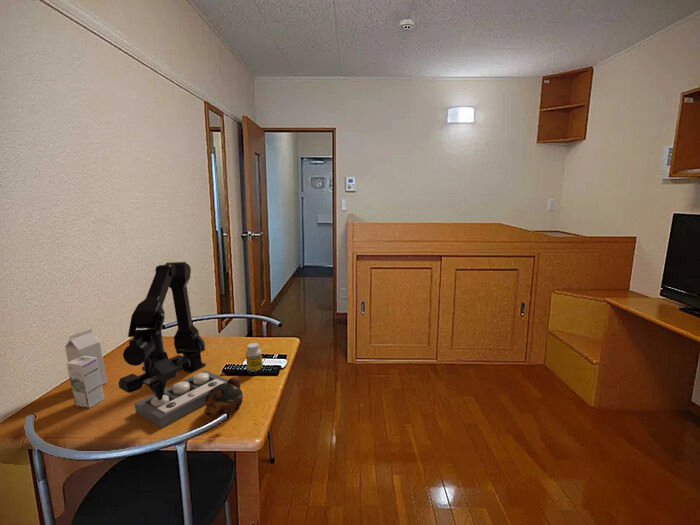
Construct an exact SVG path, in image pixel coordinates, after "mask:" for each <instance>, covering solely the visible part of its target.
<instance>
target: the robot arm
mask: <svg viewBox="0 0 700 525" xmlns="http://www.w3.org/2000/svg"><path fill="white" fill-rule="evenodd" d="M154 273H155V274H154V277H153V279H152V281H151V284H150V287H149V289H148V292H147V293H146V296H145V298H144V300H142V301H141V302H139V303H138V304H137V306H136V307H135V309H134V311H133V312H132V314H131V318H130V324H129V329H128V334H127V337H128V338H132V339H129V341H128V344H129V345H128V346H126V348H124V350H123V353H122V357H123V359H124V362H126V363H127V364H129V365H130V366H133V367H136V366H140V365H142V364H143V366H141V371H142V372H144V373H142V374H140V375H136V374H134V373H131V374H128V375H126V376H123V377H121V378H120V379H119V380H118V387H119V389H120V390H123V391H124V392H125V393H128V394H131V393H133V392H137V391H138V390H141V389H142V388H143V386H144V385H145V386H147V387H148V388H149V390H151V391H152V393H153V394H154V395H155V396H156V398H157V399H158V400H161V399H162V397H163V393H164V389H166V385H167V382H168V381H170V380H172V379H175V378H177V377H178V372H181V371H187V372H189V373H192V372H193V371H194V372H195V371H196V370H198V369H200V368H201V369H202V368H203V367H205V366H206V365H207V364H206V363H205V362H202V356H201V353H202V352H204V351H206V348H205V347H206V343H205V341H204V339H203V338H202V337H201V336H200V333H199V332H200V331H199V330H198V329H197V327H196V326H195V325H194V324H193V320H192V314H191V307H190V306H191V305H190V299H189V294H188V293H189V292H188V288H187V285H188V283H189V282H190V279H191V273H192V268H191V265H190V264H189V263H187V261H179V262H178V261H177V262H176V261H175V262H173V261H172V262H166V263H165V264H159V265H156V267H155V271H154ZM169 288H170V290H171V293H172V300H173V306H174V311H175V317H176V318H175V319H176V324H177V330H176V333H175V334H174V335H173V346H174V349H175V352H176V356H172V357H170V358H169V356H168V354H167V352H166V351H165V348H164V340H163V335H162V334H163V333H162V330H163V329H164V322H165V319H166V318H165V317H166V316H165V313H166V312H165V311H164V309H163V308H164V307H163V305H164V303H165V299H166V296H167V293H168V290H169ZM180 354H182V355H180Z"/></svg>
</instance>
